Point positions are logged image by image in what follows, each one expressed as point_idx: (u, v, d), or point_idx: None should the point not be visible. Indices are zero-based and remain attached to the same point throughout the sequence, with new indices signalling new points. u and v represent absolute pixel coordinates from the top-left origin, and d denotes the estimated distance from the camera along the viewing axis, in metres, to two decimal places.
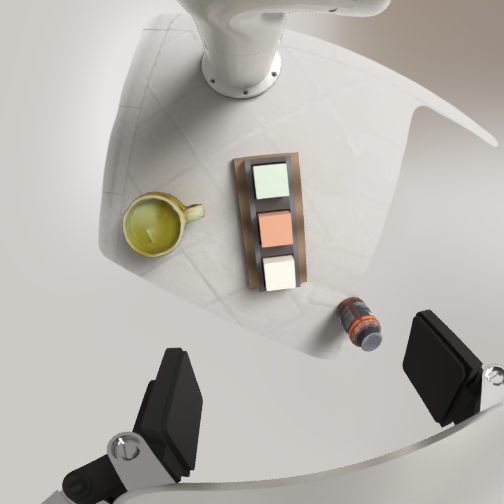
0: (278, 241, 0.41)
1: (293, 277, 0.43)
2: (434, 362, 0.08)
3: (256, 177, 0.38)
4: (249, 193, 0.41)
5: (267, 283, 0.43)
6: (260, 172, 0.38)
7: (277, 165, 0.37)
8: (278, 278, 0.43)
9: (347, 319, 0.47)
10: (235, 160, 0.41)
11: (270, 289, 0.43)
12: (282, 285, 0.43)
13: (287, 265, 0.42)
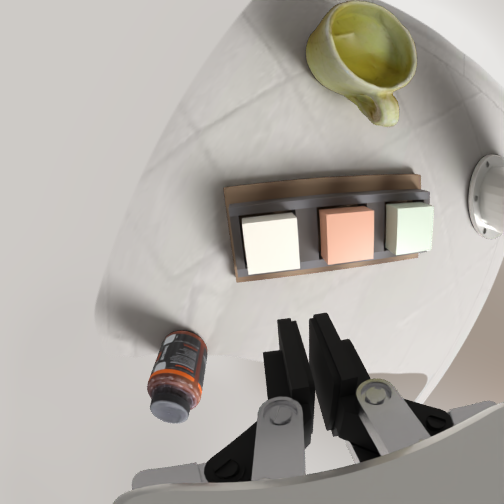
0: (334, 241, 0.24)
1: (268, 269, 0.25)
2: (320, 367, 0.09)
3: (422, 209, 0.23)
4: (392, 195, 0.25)
5: (258, 224, 0.23)
6: (426, 215, 0.23)
7: (430, 238, 0.24)
8: (267, 244, 0.24)
9: (184, 356, 0.28)
10: (418, 177, 0.26)
11: (246, 231, 0.23)
12: (253, 252, 0.24)
13: (291, 258, 0.24)
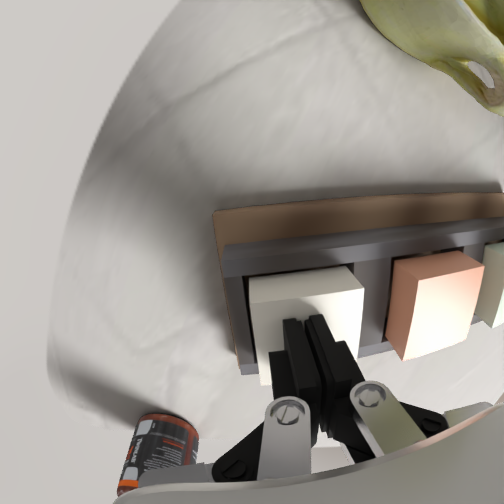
0: (421, 324, 0.11)
1: None
2: None
3: None
4: (494, 230, 0.12)
5: (284, 304, 0.11)
6: None
7: None
8: None
9: (164, 461, 0.15)
10: None
11: (258, 317, 0.11)
12: None
13: None
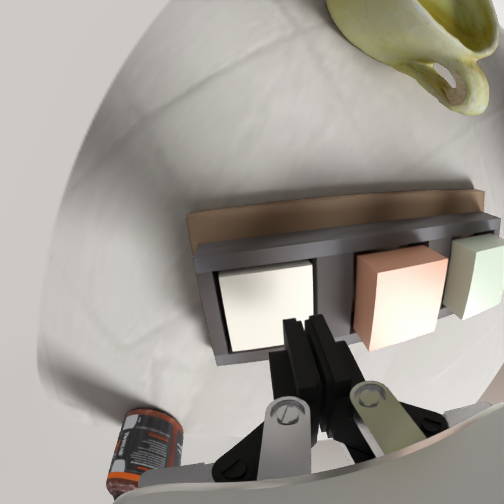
0: (384, 315, 0.13)
1: (263, 343, 0.15)
2: None
3: (501, 249, 0.12)
4: (461, 225, 0.14)
5: (246, 278, 0.14)
6: None
7: (502, 288, 0.13)
8: (261, 307, 0.14)
9: (149, 453, 0.16)
10: (482, 194, 0.16)
11: (226, 289, 0.14)
12: (240, 320, 0.14)
13: None
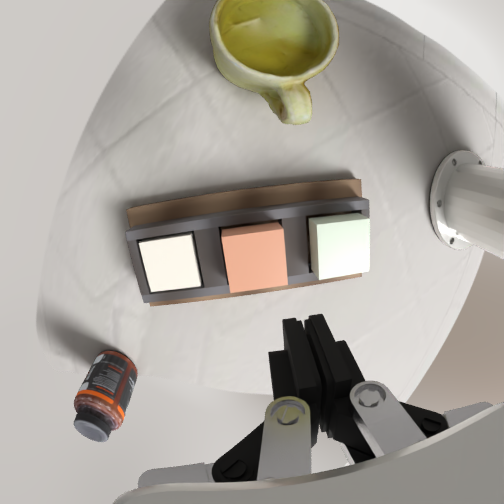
0: (234, 267, 0.21)
1: (169, 287, 0.24)
2: None
3: (353, 223, 0.21)
4: (315, 207, 0.23)
5: (153, 243, 0.22)
6: (359, 230, 0.21)
7: (367, 257, 0.22)
8: (164, 262, 0.23)
9: (106, 378, 0.25)
10: (358, 182, 0.24)
11: (143, 249, 0.22)
12: (153, 270, 0.23)
13: (190, 275, 0.23)
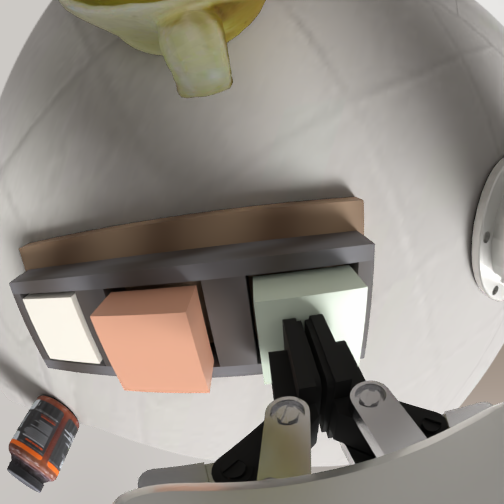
0: (119, 360, 0.11)
1: (65, 357, 0.14)
2: None
3: (331, 298, 0.11)
4: (265, 259, 0.12)
5: (35, 302, 0.13)
6: (345, 309, 0.11)
7: (357, 351, 0.12)
8: (52, 327, 0.13)
9: (36, 431, 0.16)
10: (357, 205, 0.14)
11: (28, 308, 0.13)
12: (44, 334, 0.13)
13: (84, 349, 0.14)
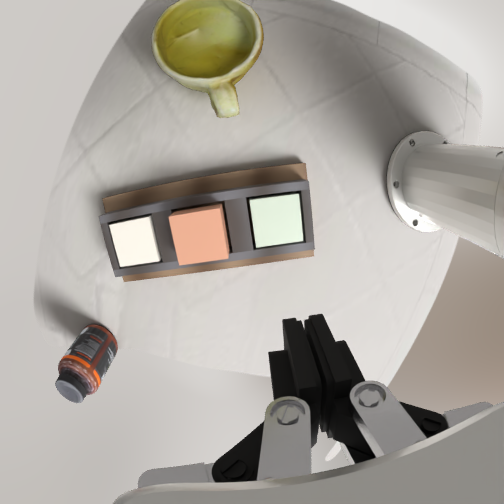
0: (180, 242, 0.24)
1: (134, 262, 0.27)
2: None
3: (282, 198, 0.25)
4: (255, 189, 0.25)
5: (120, 224, 0.26)
6: (289, 204, 0.26)
7: (300, 228, 0.26)
8: (129, 240, 0.26)
9: (86, 346, 0.29)
10: (302, 165, 0.27)
11: (113, 230, 0.26)
12: (120, 247, 0.26)
13: (150, 252, 0.27)
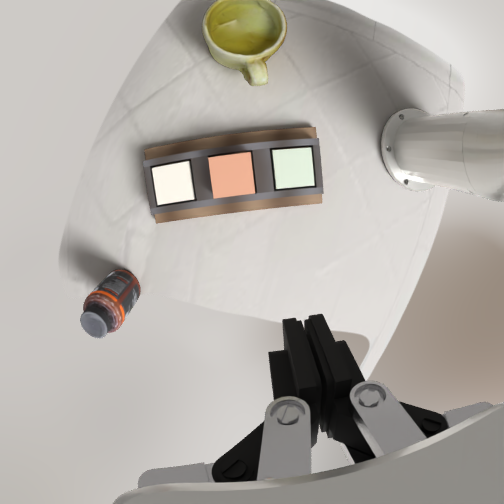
0: (216, 178, 0.30)
1: (171, 200, 0.32)
2: None
3: (298, 150, 0.31)
4: (276, 142, 0.31)
5: (162, 167, 0.31)
6: (304, 155, 0.31)
7: (312, 175, 0.32)
8: (168, 181, 0.31)
9: (114, 284, 0.34)
10: (313, 129, 0.32)
11: (154, 173, 0.31)
12: (160, 187, 0.32)
13: (186, 191, 0.32)
